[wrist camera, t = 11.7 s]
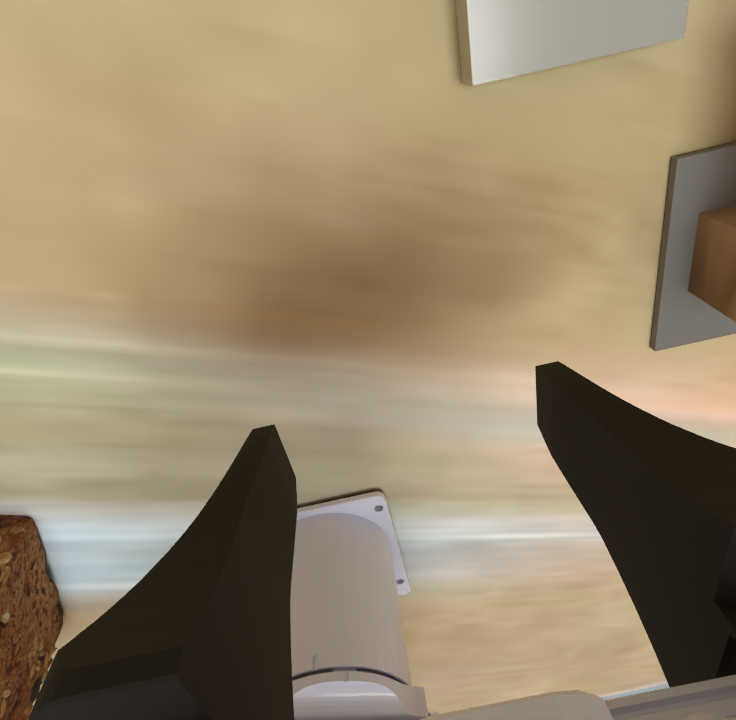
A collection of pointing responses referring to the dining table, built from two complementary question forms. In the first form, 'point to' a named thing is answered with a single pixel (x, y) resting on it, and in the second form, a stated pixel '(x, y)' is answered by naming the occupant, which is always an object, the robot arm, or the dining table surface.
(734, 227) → the brown white angled block
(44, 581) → the bread
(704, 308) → the mat
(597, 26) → the tile
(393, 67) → the dining table surface
